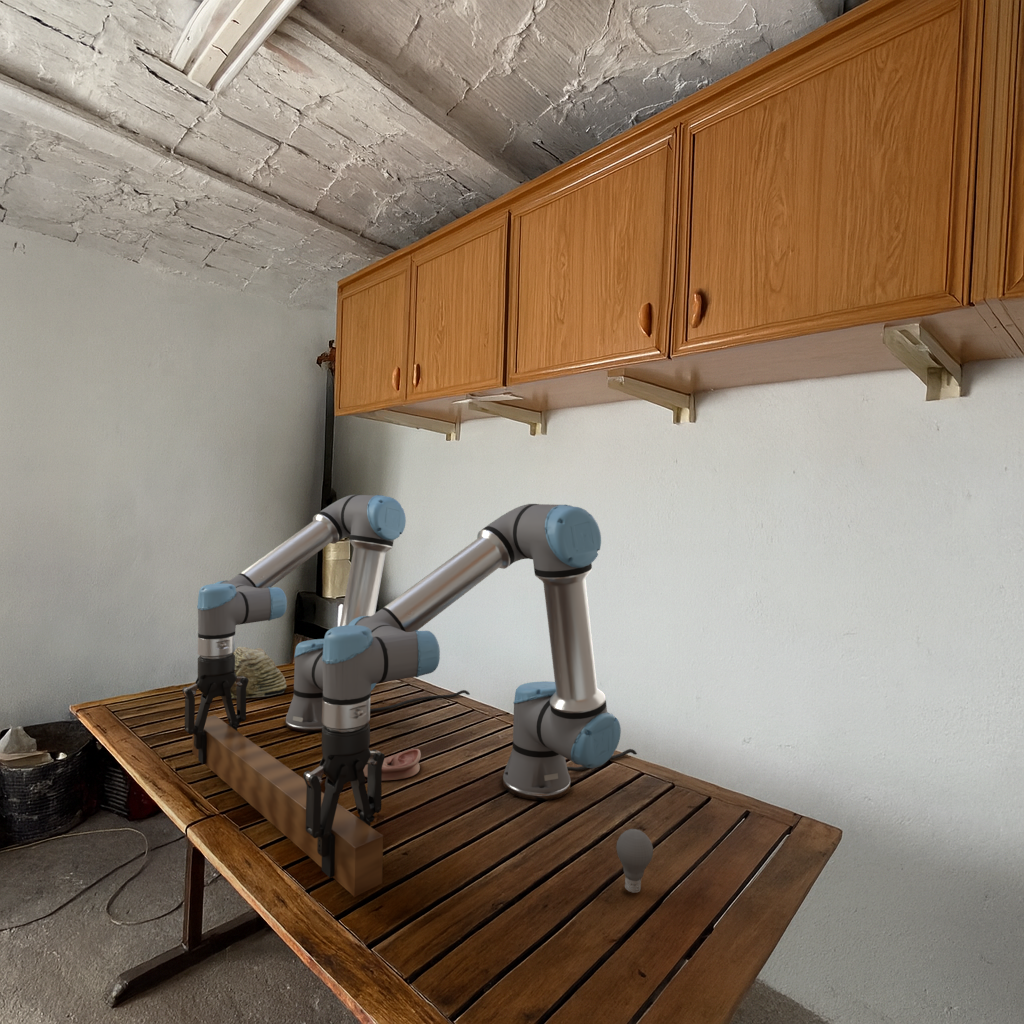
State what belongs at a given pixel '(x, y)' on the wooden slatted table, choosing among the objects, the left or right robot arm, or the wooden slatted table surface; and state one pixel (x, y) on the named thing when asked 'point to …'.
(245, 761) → the bar
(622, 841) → the light bulb
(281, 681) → the fossil
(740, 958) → the wooden slatted table surface
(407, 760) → the anatomical model
